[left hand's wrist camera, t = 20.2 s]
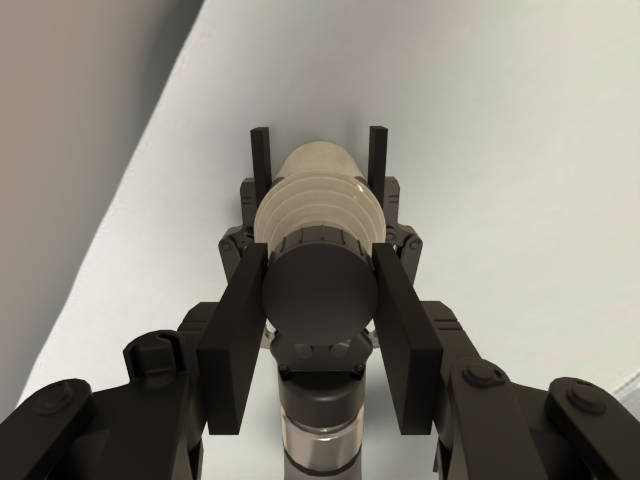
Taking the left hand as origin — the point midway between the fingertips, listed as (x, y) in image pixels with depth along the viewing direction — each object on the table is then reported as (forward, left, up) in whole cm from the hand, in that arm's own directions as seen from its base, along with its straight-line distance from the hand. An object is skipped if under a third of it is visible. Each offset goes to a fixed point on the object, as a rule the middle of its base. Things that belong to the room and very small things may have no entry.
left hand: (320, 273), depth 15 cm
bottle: (0, 0, -18) cm, 18 cm away
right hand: (-4, -3, -11) cm, 12 cm away
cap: (0, 0, +2) cm, 2 cm away
